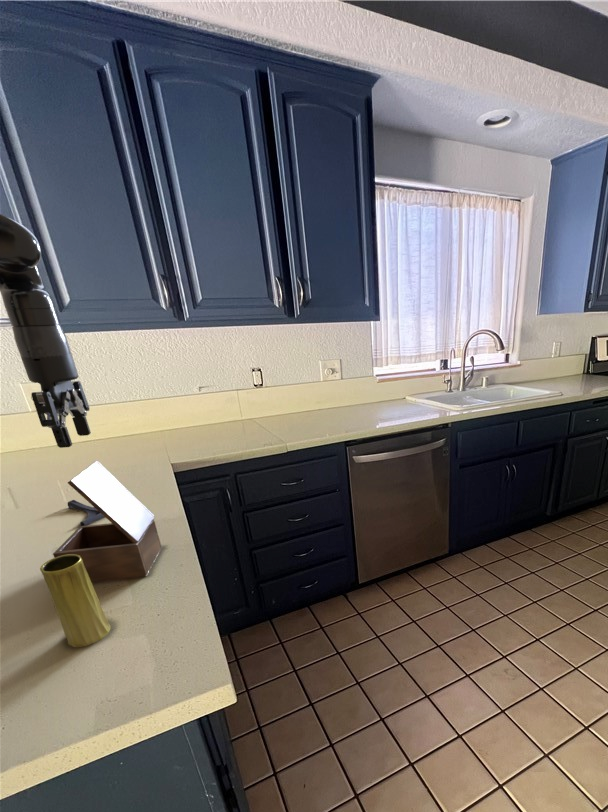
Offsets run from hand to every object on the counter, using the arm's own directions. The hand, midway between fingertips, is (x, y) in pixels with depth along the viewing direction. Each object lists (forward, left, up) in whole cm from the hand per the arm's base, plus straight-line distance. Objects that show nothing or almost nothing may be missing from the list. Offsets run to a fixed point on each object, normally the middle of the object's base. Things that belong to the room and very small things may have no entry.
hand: (75, 440), depth 84 cm
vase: (+6, -29, -26) cm, 39 cm away
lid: (+6, -7, -11) cm, 14 cm away
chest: (+3, -7, -26) cm, 27 cm away
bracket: (-14, +25, -26) cm, 39 cm away
